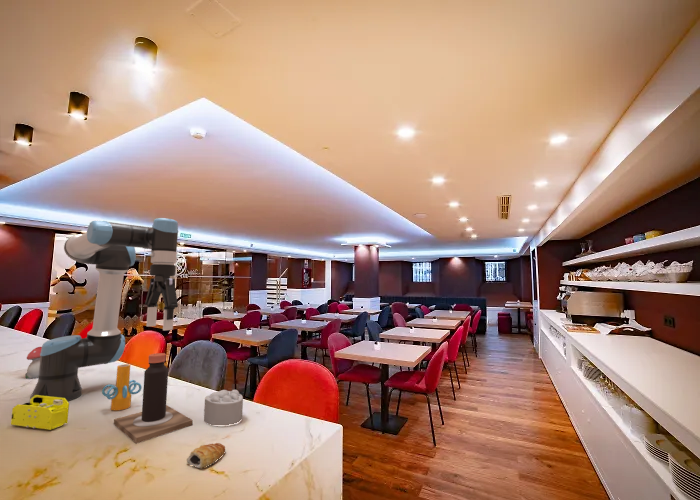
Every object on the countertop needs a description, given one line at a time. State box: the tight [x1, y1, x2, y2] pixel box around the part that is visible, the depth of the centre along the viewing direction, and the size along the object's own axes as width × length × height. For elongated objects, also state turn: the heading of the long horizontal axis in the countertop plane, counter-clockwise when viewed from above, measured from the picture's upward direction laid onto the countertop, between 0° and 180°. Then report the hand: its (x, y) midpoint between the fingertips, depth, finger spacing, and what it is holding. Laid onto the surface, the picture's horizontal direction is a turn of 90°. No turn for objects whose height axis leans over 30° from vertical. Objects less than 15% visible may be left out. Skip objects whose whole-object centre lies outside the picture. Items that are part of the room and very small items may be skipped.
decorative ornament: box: [24, 346, 42, 379], centre depth 158 cm, size 9×6×15 cm
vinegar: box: [141, 352, 169, 422], centre depth 107 cm, size 7×7×20 cm
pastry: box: [186, 442, 226, 469], centre depth 86 cm, size 9×7×4 cm
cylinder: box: [101, 363, 142, 411], centre depth 120 cm, size 12×10×15 cm
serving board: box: [113, 404, 194, 444], centre depth 106 cm, size 20×16×2 cm
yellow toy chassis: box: [10, 395, 70, 431], centre depth 104 cm, size 16×6×8 cm, turn 78°
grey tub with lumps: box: [203, 389, 244, 426], centre depth 110 cm, size 10×13×9 cm
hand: (159, 328), depth 109 cm, fingers open, 13 cm apart
